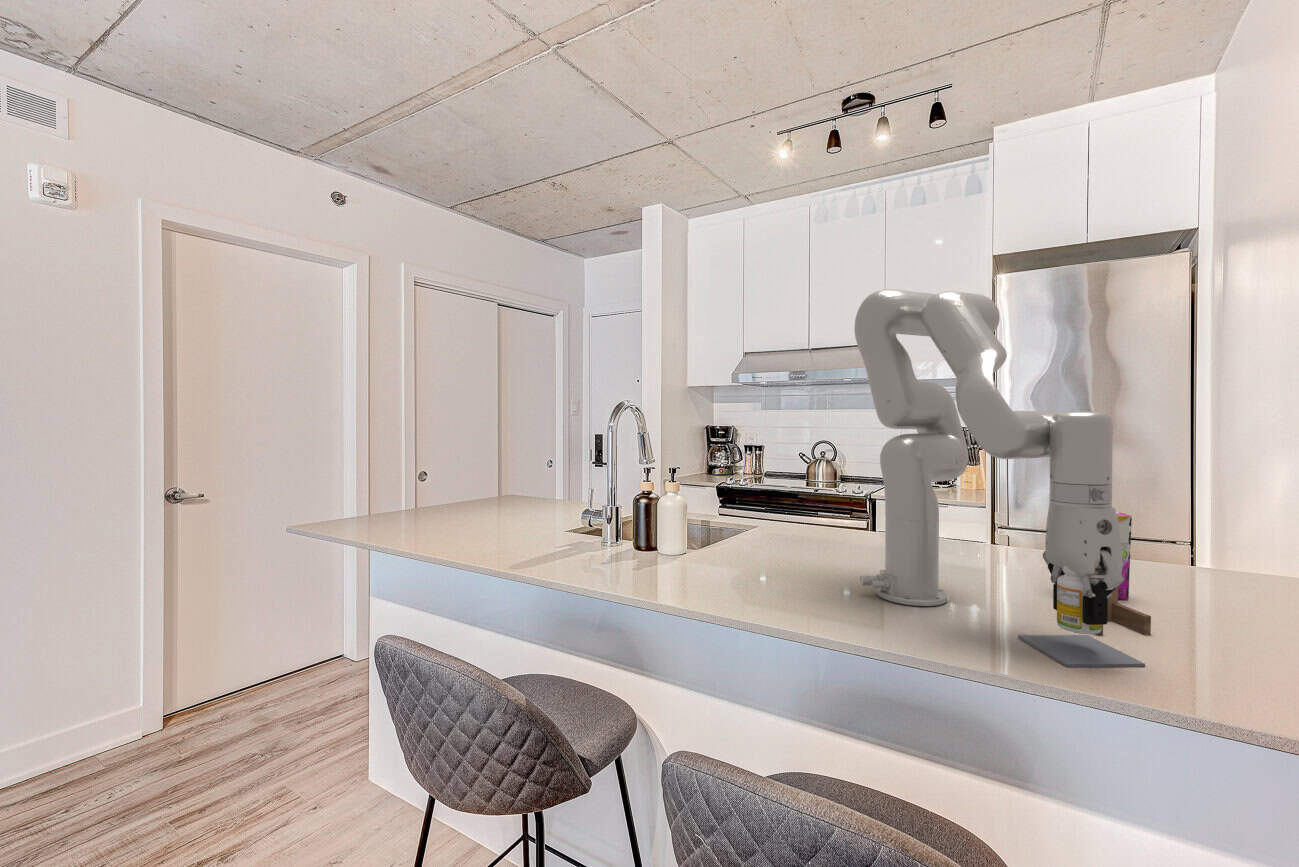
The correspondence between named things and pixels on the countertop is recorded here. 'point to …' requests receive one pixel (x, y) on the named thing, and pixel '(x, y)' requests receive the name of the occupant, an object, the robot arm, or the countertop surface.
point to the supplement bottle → (1072, 603)
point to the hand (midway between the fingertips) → (1079, 615)
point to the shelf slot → (1127, 616)
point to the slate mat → (1080, 651)
